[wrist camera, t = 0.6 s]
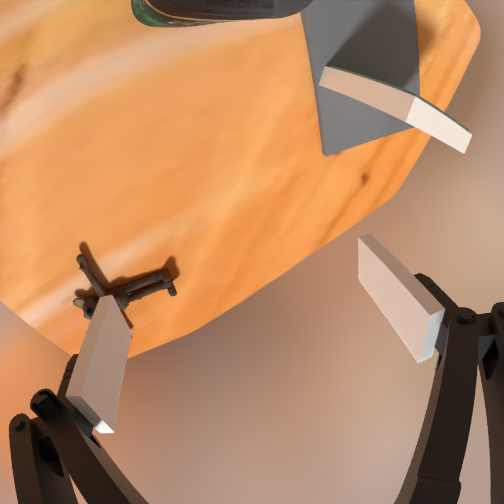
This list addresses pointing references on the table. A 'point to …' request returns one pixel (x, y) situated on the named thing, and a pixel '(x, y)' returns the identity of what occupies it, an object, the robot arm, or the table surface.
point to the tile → (398, 105)
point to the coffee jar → (211, 11)
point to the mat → (360, 63)
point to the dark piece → (121, 289)
